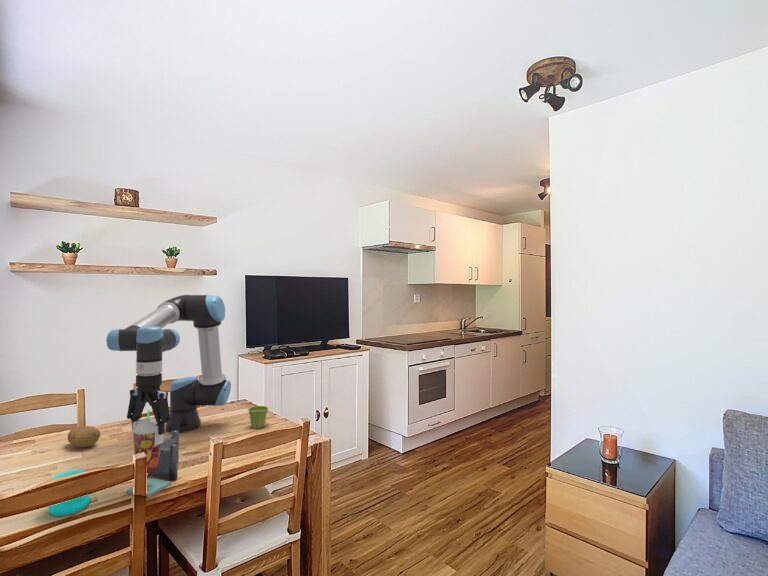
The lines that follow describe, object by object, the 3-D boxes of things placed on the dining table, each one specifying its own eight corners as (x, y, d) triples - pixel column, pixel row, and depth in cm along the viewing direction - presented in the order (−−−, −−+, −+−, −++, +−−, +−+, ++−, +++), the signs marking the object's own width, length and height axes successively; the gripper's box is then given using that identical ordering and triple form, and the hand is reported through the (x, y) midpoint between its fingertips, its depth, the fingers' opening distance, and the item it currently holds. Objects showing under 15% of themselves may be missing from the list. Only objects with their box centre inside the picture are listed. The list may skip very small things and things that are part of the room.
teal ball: (78, 465, 129) (98, 472, 125) (78, 497, 129) (97, 505, 125) (41, 478, 120) (60, 486, 116) (40, 512, 120) (60, 521, 116)
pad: (126, 493, 132) (126, 489, 132) (149, 480, 141) (149, 477, 141) (148, 497, 130) (148, 494, 130) (170, 484, 138) (170, 481, 138)
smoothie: (134, 467, 138) (135, 407, 138) (162, 463, 141) (163, 405, 141) (130, 477, 130) (131, 414, 130) (160, 473, 133) (161, 412, 133)
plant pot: (264, 430, 192) (264, 411, 192) (244, 429, 192) (245, 411, 192) (270, 423, 201) (270, 406, 201) (251, 423, 202) (251, 405, 202)
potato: (84, 439, 177) (84, 421, 177) (106, 444, 172) (107, 425, 172) (59, 448, 167) (59, 428, 167) (82, 453, 162) (82, 433, 162)
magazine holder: (144, 475, 144) (145, 441, 144) (174, 460, 157) (175, 429, 157) (173, 481, 141) (173, 446, 141) (201, 465, 154) (202, 433, 154)
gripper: (114, 373, 135) (113, 442, 135) (165, 378, 129) (164, 450, 129) (134, 369, 142) (133, 434, 142) (183, 373, 136) (182, 442, 136)
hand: (147, 442), depth 135 cm, fingers closed on smoothie, 8 cm apart
